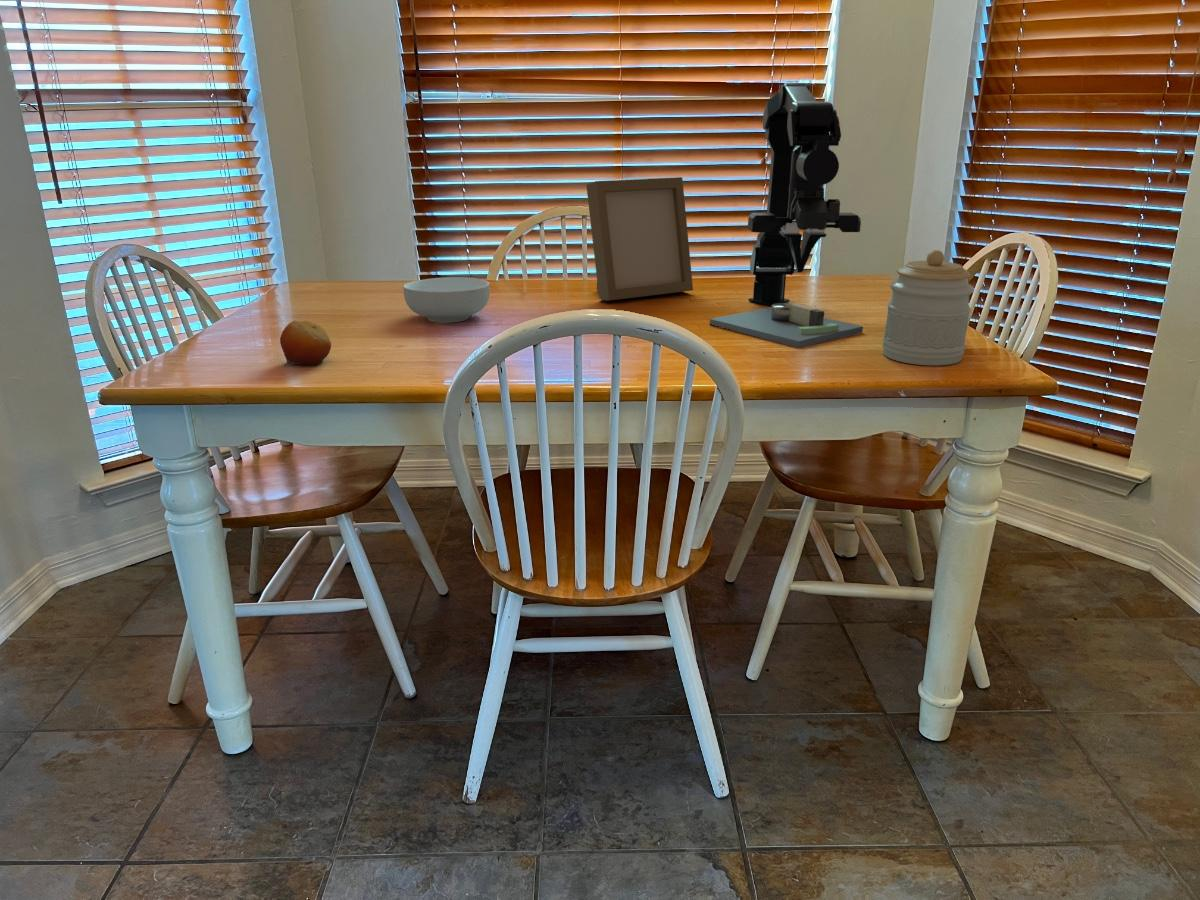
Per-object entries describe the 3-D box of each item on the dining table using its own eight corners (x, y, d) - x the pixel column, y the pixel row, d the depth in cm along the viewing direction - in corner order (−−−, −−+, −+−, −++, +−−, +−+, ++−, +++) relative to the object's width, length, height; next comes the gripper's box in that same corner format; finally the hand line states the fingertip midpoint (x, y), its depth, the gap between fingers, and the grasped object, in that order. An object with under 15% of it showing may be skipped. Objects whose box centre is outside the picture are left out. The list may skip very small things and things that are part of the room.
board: (773, 312, 177) (773, 301, 176) (862, 332, 161) (863, 320, 160) (709, 324, 167) (710, 313, 166) (798, 347, 150) (799, 335, 150)
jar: (980, 363, 141) (998, 254, 134) (911, 370, 138) (926, 258, 131) (930, 344, 153) (944, 242, 146) (866, 350, 149) (878, 246, 143)
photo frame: (692, 294, 194) (697, 178, 185) (609, 304, 184) (609, 182, 175) (657, 284, 206) (659, 174, 197) (576, 293, 196) (575, 178, 187)
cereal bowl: (506, 314, 177) (505, 279, 174) (461, 331, 162) (459, 294, 160) (437, 306, 183) (435, 273, 181) (388, 323, 169) (385, 287, 167)
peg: (765, 317, 167) (766, 300, 166) (786, 314, 169) (787, 298, 168) (808, 330, 156) (810, 313, 155) (829, 327, 159) (831, 310, 157)
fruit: (277, 348, 145) (297, 308, 143) (321, 371, 147) (341, 331, 145) (264, 361, 138) (284, 319, 136) (310, 385, 140) (331, 343, 138)
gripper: (760, 184, 141) (754, 280, 147) (874, 184, 141) (864, 280, 147) (750, 179, 152) (744, 269, 157) (856, 179, 151) (847, 269, 157)
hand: (799, 272), depth 154 cm, fingers closed
